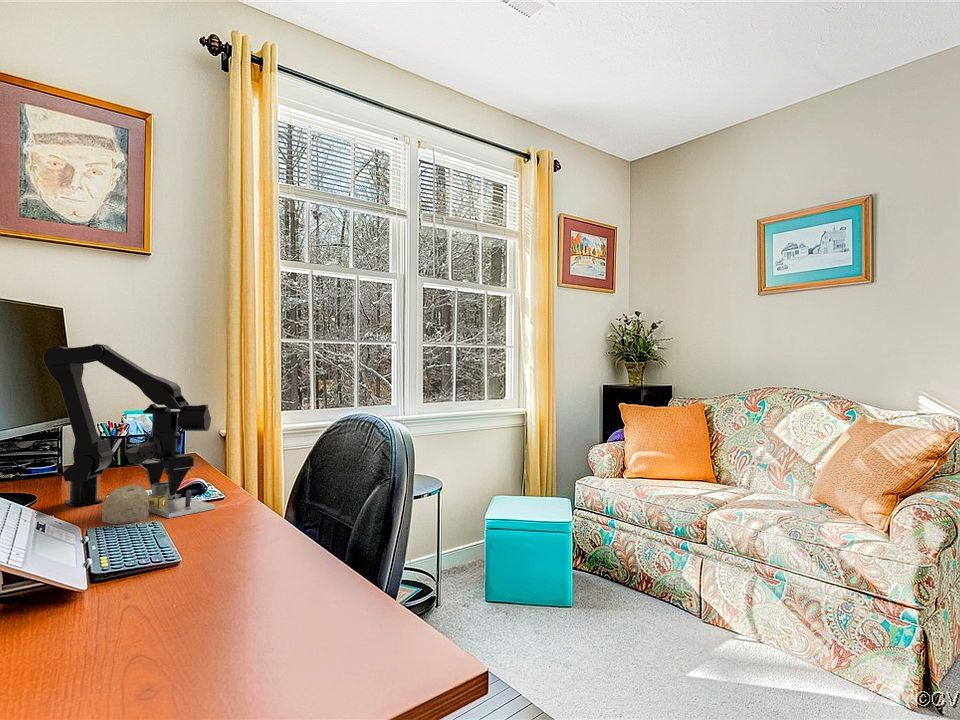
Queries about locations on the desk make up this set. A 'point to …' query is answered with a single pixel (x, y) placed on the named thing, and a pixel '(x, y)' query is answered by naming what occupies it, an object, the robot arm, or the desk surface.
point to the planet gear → (163, 490)
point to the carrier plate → (177, 505)
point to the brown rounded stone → (126, 505)
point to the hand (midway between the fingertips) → (163, 492)
